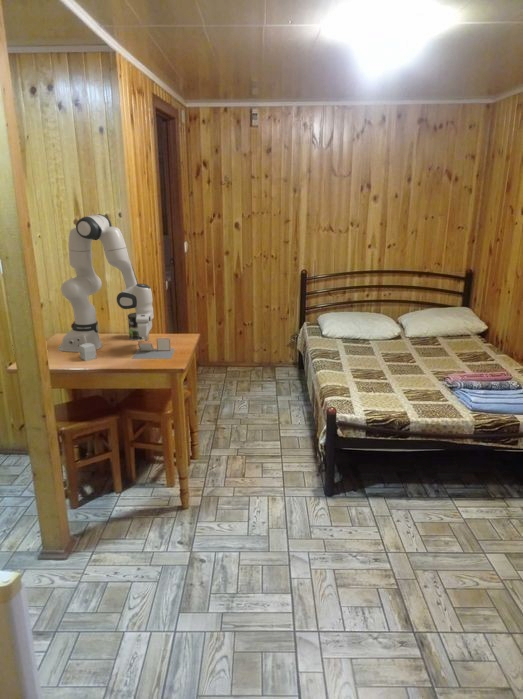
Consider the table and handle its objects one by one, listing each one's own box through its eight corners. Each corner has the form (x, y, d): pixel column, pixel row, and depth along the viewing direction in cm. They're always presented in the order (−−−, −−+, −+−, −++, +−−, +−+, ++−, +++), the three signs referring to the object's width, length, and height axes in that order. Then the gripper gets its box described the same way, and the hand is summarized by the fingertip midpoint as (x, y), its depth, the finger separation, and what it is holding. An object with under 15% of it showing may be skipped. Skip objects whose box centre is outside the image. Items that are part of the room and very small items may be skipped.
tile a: (140, 351, 263) (137, 344, 257) (140, 348, 263) (138, 341, 258) (153, 351, 263) (151, 343, 257) (153, 348, 264) (151, 341, 258)
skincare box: (96, 358, 252) (95, 344, 250) (85, 361, 248) (83, 347, 246) (91, 355, 256) (89, 342, 254) (80, 358, 252) (78, 344, 250)
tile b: (157, 351, 263) (156, 338, 261) (157, 350, 264) (157, 337, 262) (170, 351, 263) (169, 338, 261) (170, 349, 265) (170, 337, 263)
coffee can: (133, 342, 278) (131, 318, 274) (126, 337, 286) (124, 314, 281) (150, 339, 284) (149, 315, 279) (143, 334, 292) (141, 311, 287)
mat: (131, 359, 251) (131, 358, 251) (137, 349, 266) (137, 348, 266) (171, 359, 252) (171, 358, 252) (175, 349, 267) (175, 348, 267)
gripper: (142, 310, 267) (144, 334, 271) (135, 320, 248) (137, 346, 252) (154, 310, 267) (155, 334, 272) (147, 320, 248) (149, 346, 252)
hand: (146, 340), depth 262 cm, fingers closed
